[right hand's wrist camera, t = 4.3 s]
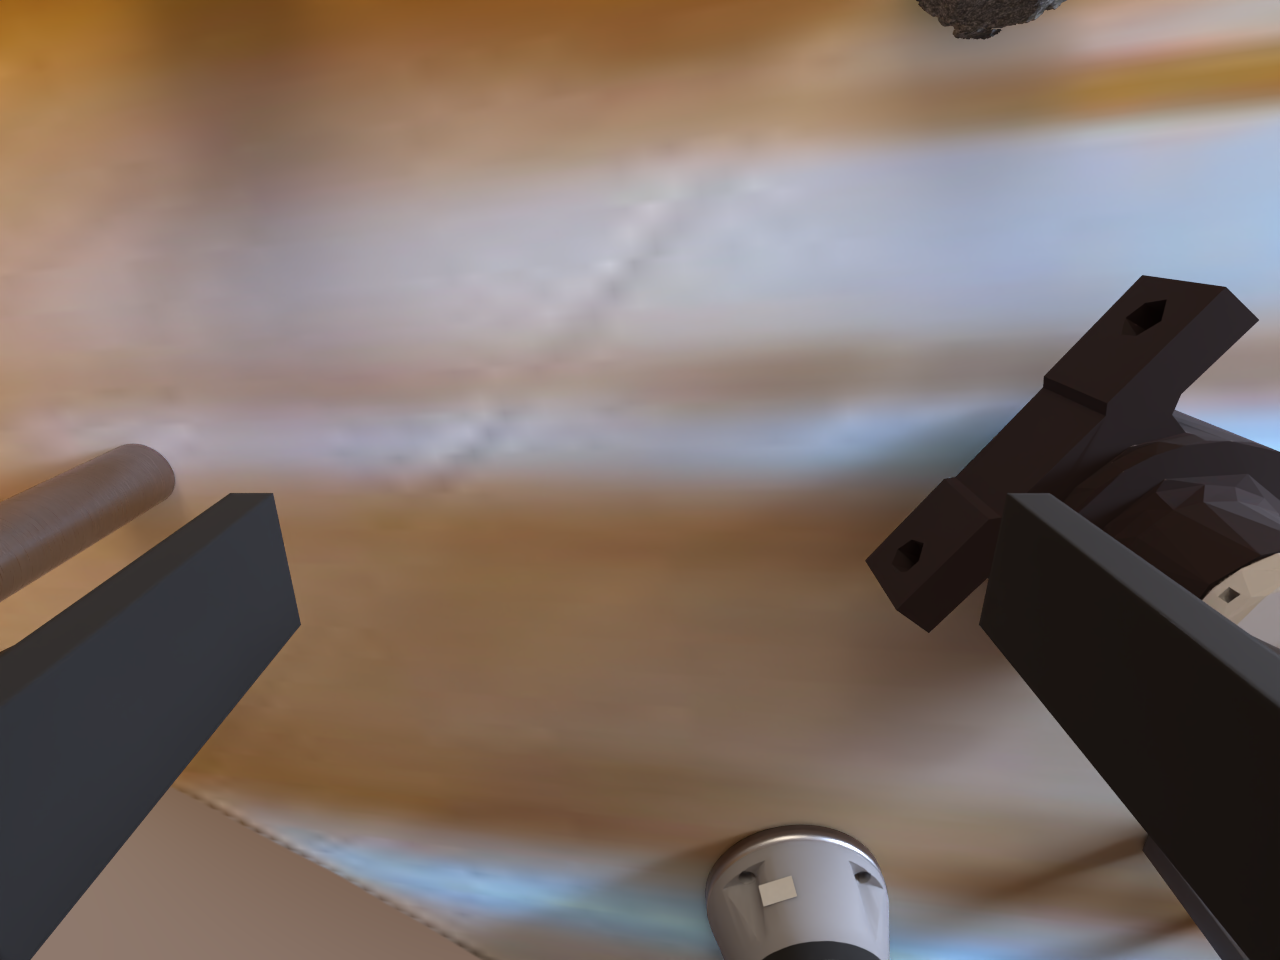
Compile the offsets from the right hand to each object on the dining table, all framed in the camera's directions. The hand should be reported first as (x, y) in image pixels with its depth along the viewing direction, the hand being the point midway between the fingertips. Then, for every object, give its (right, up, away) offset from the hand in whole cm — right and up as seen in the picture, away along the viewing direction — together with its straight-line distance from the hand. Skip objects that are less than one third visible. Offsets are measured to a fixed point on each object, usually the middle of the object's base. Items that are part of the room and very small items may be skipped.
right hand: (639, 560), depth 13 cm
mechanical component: (+33, -2, +35) cm, 48 cm away
